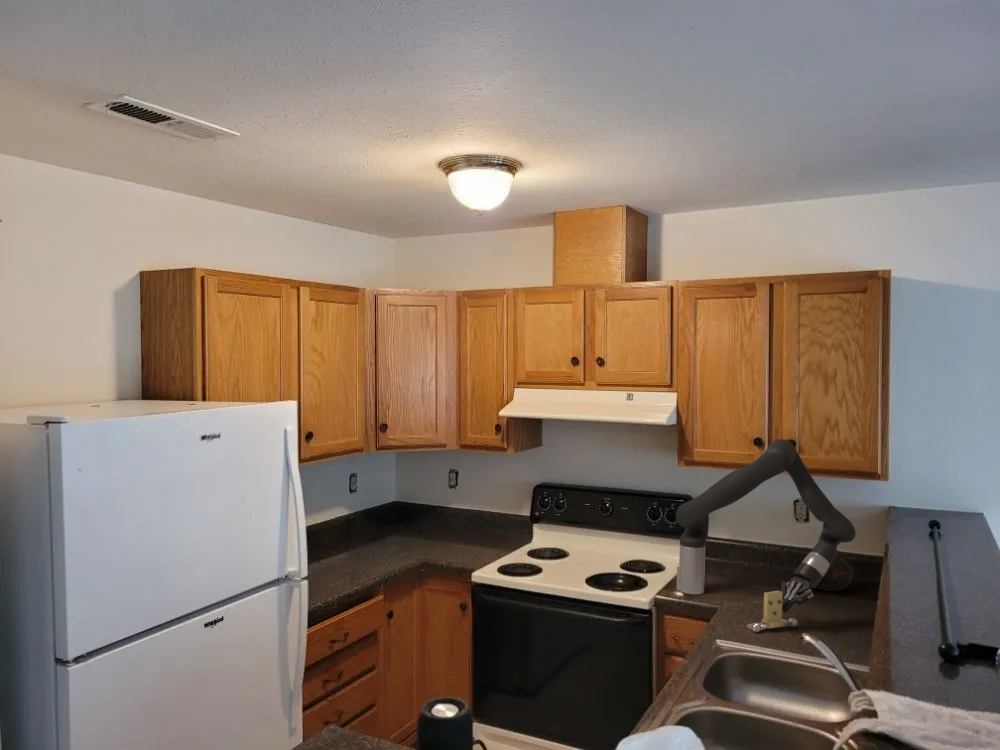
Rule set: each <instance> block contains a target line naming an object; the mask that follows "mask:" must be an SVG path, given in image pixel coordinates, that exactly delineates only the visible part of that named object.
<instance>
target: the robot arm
mask: <svg viewBox="0 0 1000 750" xmlns="http://www.w3.org/2000/svg"><path fill="white" fill-rule="evenodd" d="M784 472H787V473H788V476H790V478H791V479H792V481H793V483H794V484H795V486H796V487H795V488H796V489H797V491H798V494H799V496H800V498H801V500H802V501H803V503H804V505H805V506H806V507H807V509H808V510H809V512H810V513H811V514H812V515H813V517H814V518H816V520H817V521H819V522H824V523H826V524H827V525H826V526H825V527H824V529H823V528H822V531H821V533H820V535H819V538H818V540H817V543H816V544H815V545H814V547H813V548H812V549H811V551H810V552H809V553H808V554H807V555H806V556H805V557H804V559H803V560H802V561H801V563H800V564H799V565H798V567H797V568H796V569H795V570H794V576H793V577H791V578H790V579H789V581H787V582H785V581H784V580H783V581H781V583H780V585H781V586H780V587H781V590H780V591H781V592H782V598H783V599H782V613H785V614H787V613H788V612H789V611H790V610H791V608H792V607H793V606H795V605H798V606H800V605H802V604H804V603H806V602H809V601H811V600H813V599H815V596H814V593H813V592H812V591H813V589H816V588H815V587H816V586H817V584H818V583H819V581H820V580H821V579H822V577H823V576H824V574H825V573H826V572H827V570H828V568H829V566H830V565H831V563H832V562H833V561H834V559H835V558H836V556H837V554H838V555H839V552H838V548H837V547H838V545H839V544H841V543H850V542H852V541H854V539H855V538H856V529H855V526H854V525H853V523H852V522H851V520H850V519H848V518H847V517H846V516H845V514H843V513H842V512H841V511H840V510H838V509H837V508H835V505H833V503H832V502H831V501H830V500H829V498H828V497H827V495H826V494H825V493H824V492H823V490H821V488H820V487H819V485H818V484H817V483H816V481H815V480H814V478H813V477H812V475H811V473H810V472H809V470H808V469H807V467H806V465H805V464H804V462H803V459H802V458H801V456H800V455H799V452H798V451H797V449H796V447H795V446H794V444H792V443H791V442H790V441H788V440H786V439H783V438H779V439H776V440H773V441H772V442H771V443H770V444H769V446H768V447H767V449H766V450H765V451H764V453H763V454H761V455H760V456H759V457H758V458H756V460H754V461H753V462H752V463H750V464H748V465H746V466H743V467H740V468H738V469H735V470H733V471H732V472H730V473H728V474H726V475H725V476H723V477H722V478H720V480H718V481H716V482H715V483H714V484H712V485H711V486H709V488H707V489H705V490H704V491H703V492H702V493H701V494H700V495H698V496H696V497H694V498H693V499H690V500H688V501H687V502H684V503H682V504H680V505H679V507H678V508H677V510H676V513H675V520H676V522H677V523H678V525H680V526H681V527H683V528H685V530H684V531H683V533H682V534H681V535H680V537H679V563H678V564H677V566H676V591H679V592H681V593H682V594H687V595H702V594H704V593H705V579H706V578H705V574H706V573H705V572H706V570H705V569H706V568H705V567H706V565H705V564H706V542H707V540H708V536H709V524H710V522H709V521H710V514H711V513H713V512H715V511H718V510H721V509H724V508H725V507H727V506H729V505H733V504H734V503H736V502H737V501H739V500H741V499H742V498H744V497H745V496H747V495H748V494H750V493H751V492H752V491H754V490H755V489H757V488H758V487H759V486H760V485H761V484H763V483H764V482H766V481H768V480H770V479H771V478H774V477H776V476H778V475H780V474H782V473H784ZM836 548H837V549H836Z"/></svg>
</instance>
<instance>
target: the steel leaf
mask: <svg viewBox="0 0 1000 750" xmlns="http://www.w3.org/2000/svg"><path fill="white" fill-rule="evenodd" d="M782 620H784V626H780V627H774V628H768V627H767V624H763V625H761V622H754V623H753V622H752V623H747V624H746V628H747V627H748V628H747V629H749V628H750V629H749V630H751V629H752V630H751V631H753V632H754V633H758V632H762V631H764V630H771V629H776V628H784V627H790V628H792V627H797V625H798V624H799V623H798V620H797V619H796V618H795V617H791V618H790V617H789V618H787V620H786V619H784V618H782Z"/></svg>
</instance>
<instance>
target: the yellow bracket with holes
mask: <svg viewBox="0 0 1000 750" xmlns="http://www.w3.org/2000/svg"><path fill="white" fill-rule="evenodd" d="M782 602H783V596H782V592H781V590H772V591H767V592H766V591H765V592H764V593H763V618H761V619H760V621H761V625H763V624H767V627H768V628H772V629H775V628H774V627H778V628H781V627H780V626H784V620H785V619H784V620H782V619H783V618H782V617H783V612H782Z"/></svg>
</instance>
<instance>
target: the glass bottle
mask: <svg viewBox="0 0 1000 750" xmlns="http://www.w3.org/2000/svg"><path fill="white" fill-rule="evenodd" d="M826 525H827V524H826V523H824V522H823V524H822V530H823V529H824V527H825V526H826ZM836 549H837V550H838V548H836ZM853 576H854V571H853V568H852V566H851V565H850V563H849V562H848V561H847V560H845V559H843V558H842V557H840V556H839V553H838V554H837V556H836V558H835V559H834V561H833V562H832V563H831V565H830V566H829V568H828V570H827V572H826V573H825V574H824V576H823V577H822V579H821V580H820V581H819V583H818V584H817V586H816V587H815V588H814V589H816V590H819V589H820V591H823V590H824V592H830V591H837V592H841V591H843V590H844V589H846V588H847V587H848V586H849V585H850V584H851V582H852V580H853V578H854V577H853Z"/></svg>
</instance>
